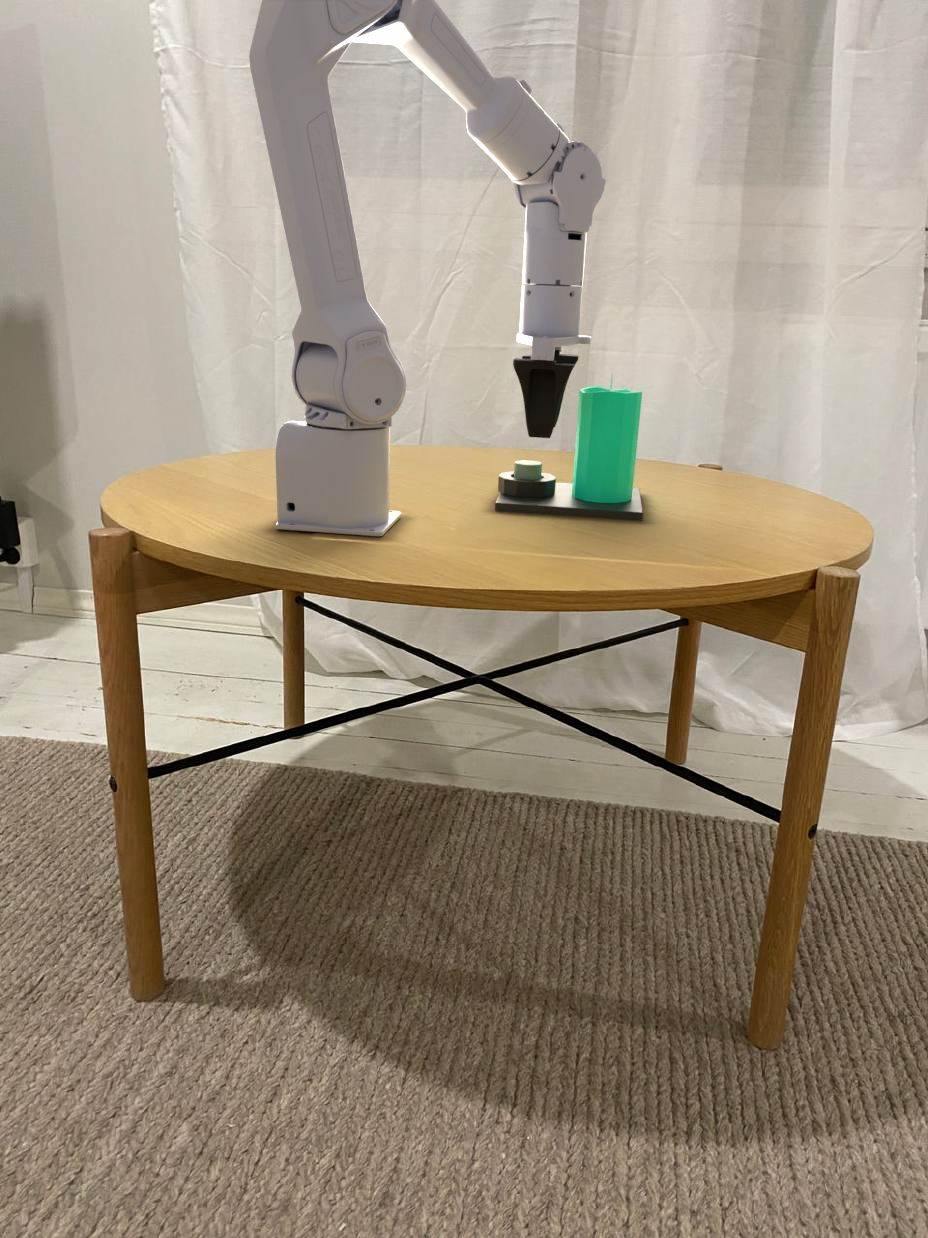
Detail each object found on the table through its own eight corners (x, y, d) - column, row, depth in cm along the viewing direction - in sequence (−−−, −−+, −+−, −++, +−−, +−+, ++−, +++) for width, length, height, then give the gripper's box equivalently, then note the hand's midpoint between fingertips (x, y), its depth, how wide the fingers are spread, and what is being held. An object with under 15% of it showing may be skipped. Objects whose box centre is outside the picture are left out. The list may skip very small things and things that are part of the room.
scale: (491, 511, 89) (492, 485, 88) (504, 487, 100) (505, 464, 99) (642, 521, 87) (644, 495, 86) (638, 495, 98) (641, 472, 97)
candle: (630, 505, 89) (643, 377, 85) (568, 500, 90) (578, 374, 86) (632, 492, 95) (644, 372, 91) (574, 488, 96) (583, 369, 92)
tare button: (512, 481, 92) (513, 463, 91) (514, 476, 95) (515, 459, 94) (540, 483, 92) (541, 465, 91) (542, 478, 94) (543, 460, 94)
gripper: (593, 286, 79) (580, 445, 84) (596, 287, 93) (585, 424, 97) (511, 283, 80) (503, 440, 85) (526, 285, 94) (519, 420, 98)
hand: (542, 431), depth 91 cm, fingers open, 7 cm apart
